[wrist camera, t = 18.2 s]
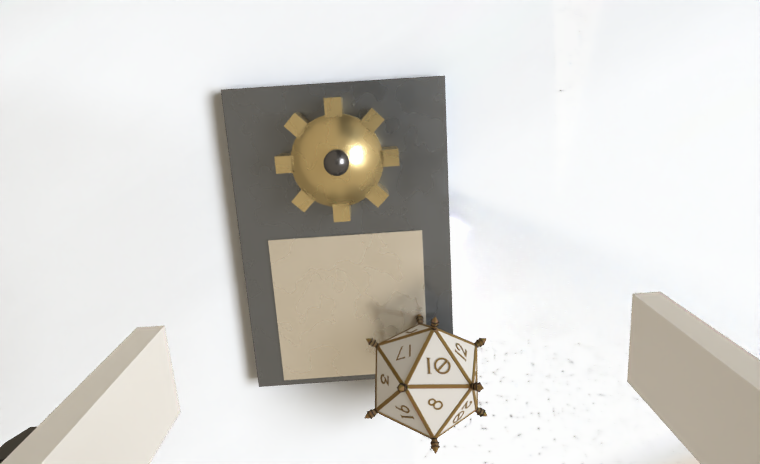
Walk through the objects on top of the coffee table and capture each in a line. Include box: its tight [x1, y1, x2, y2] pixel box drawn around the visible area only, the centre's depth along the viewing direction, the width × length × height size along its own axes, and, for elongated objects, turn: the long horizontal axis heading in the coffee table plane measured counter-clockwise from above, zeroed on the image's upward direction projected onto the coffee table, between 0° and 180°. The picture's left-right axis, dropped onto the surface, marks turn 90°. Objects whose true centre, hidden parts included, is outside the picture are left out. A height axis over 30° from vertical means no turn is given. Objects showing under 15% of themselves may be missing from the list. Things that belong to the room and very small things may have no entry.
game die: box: [365, 314, 487, 453], centre depth 36 cm, size 9×8×10 cm
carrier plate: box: [221, 76, 453, 387], centre depth 36 cm, size 22×15×5 cm
